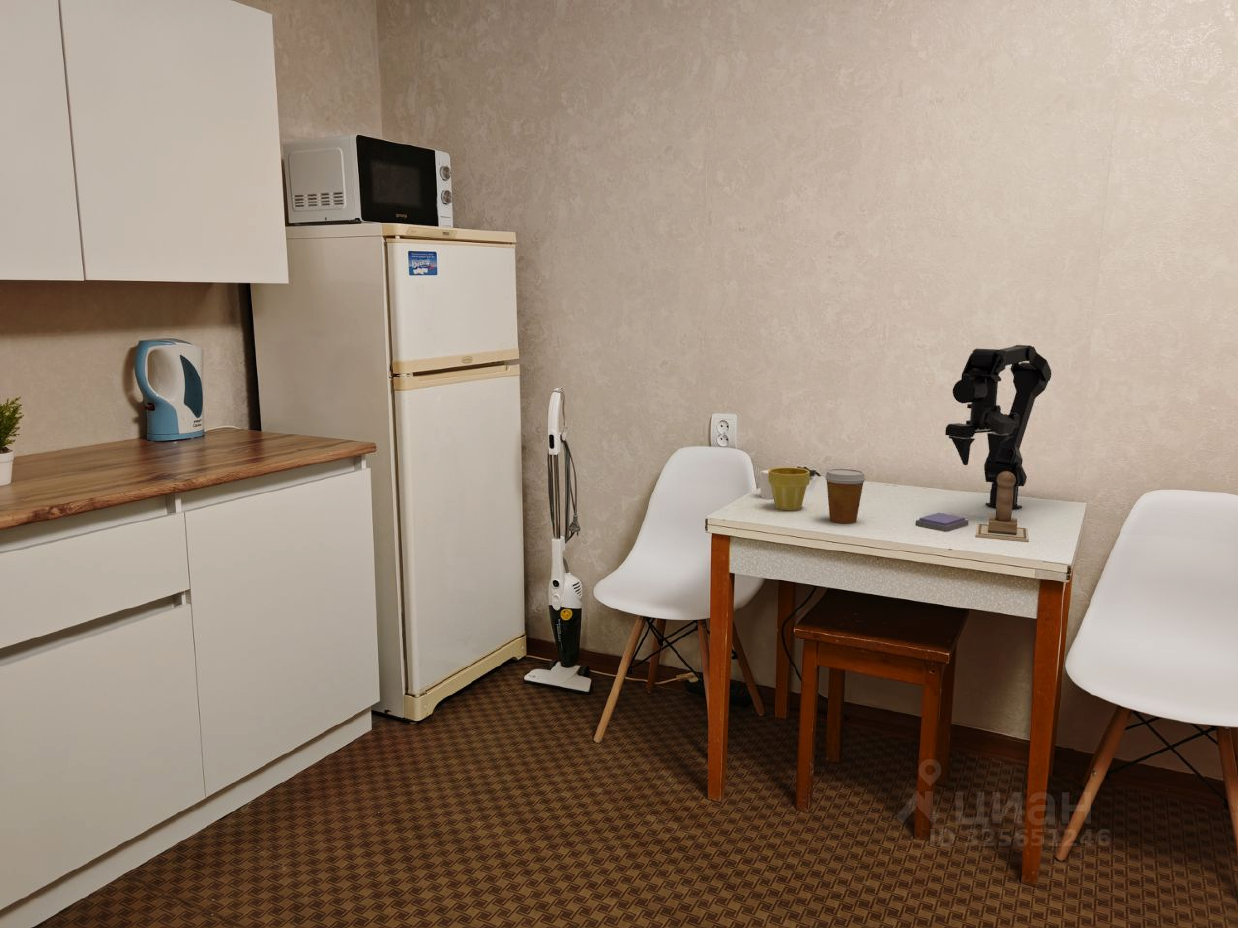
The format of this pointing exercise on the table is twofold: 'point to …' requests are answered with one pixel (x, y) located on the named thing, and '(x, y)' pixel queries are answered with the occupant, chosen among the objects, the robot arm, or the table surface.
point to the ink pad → (942, 522)
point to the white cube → (765, 485)
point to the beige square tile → (1020, 536)
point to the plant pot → (788, 486)
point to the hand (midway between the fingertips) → (979, 463)
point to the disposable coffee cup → (844, 494)
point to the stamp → (1004, 506)
